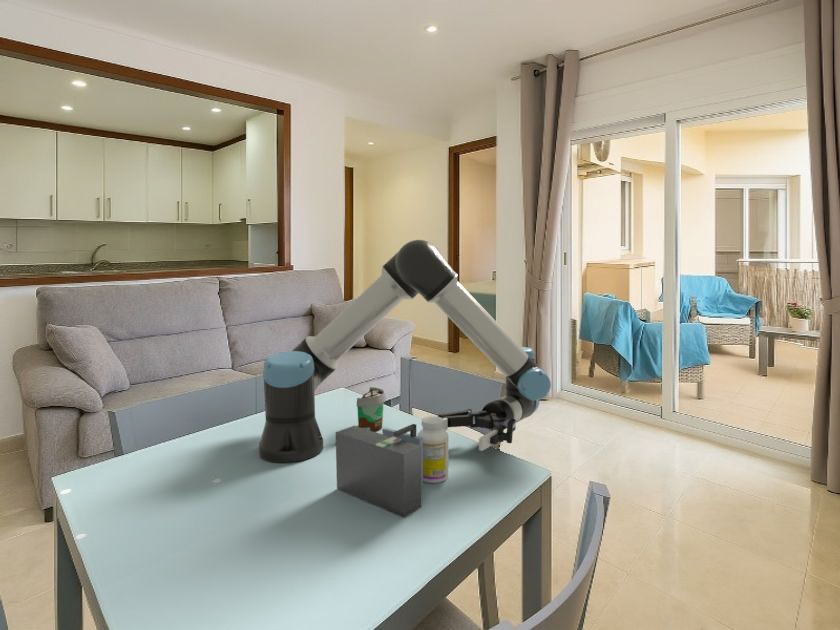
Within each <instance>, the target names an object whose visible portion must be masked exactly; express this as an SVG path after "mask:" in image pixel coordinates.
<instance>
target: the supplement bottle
mask: <svg viewBox="0 0 840 630" xmlns="http://www.w3.org/2000/svg"><path fill="white" fill-rule="evenodd" d="M443 425H444V419H443V418H441V417H438V415H437V416H435V415H431V416H424V417H423V418H421V426H422V429H420V430H419V431H417V434H416V436H418V437H421V438H423V483H427V484H428V483H429V484H438V483H443V482H444V481H446V480H447V479H448V477H449V433H448V432H447V430H444V429H443Z"/></svg>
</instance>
